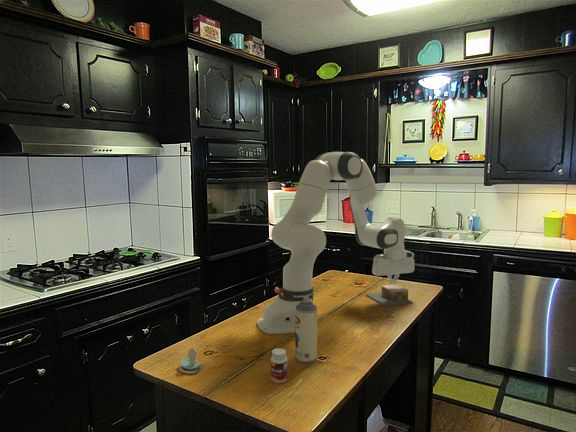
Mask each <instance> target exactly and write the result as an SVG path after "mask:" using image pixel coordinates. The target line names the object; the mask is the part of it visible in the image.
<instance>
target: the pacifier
mask: <svg viewBox="0 0 576 432" xmlns="http://www.w3.org/2000/svg"><path fill="white" fill-rule="evenodd" d="M197 355H198V352H197V350H196V349H195V347H194V348H193V347H191V348H190V349H189V350H188V353H187V357H182V359H181V360H180V365H181V366H179V367H178V370H179V372H181V373H183V374H185V375H193V374H197V373H198V371H199V369H198V368H199V367H201V366H202V365H204V362H201V361H200V362H196V357H197ZM184 369H186V370H184Z"/></svg>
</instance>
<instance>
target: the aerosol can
mask: <svg viewBox="0 0 576 432" xmlns="http://www.w3.org/2000/svg"><path fill="white" fill-rule="evenodd" d="M303 299H304V300H302V301H301V302H300V303H299V304H298V305H296V309H295V333H294V340H295V341H294V346H295V347H294V359H295V361H296V362H298V363H301V364H305V365H307V364H313V363H314V362H315V363H316V361H317V359H318V354H317V353H318V351H317V350H318V306H317V305H316V304H315V303H313V301H312V302H311V301H310V300H309V297H307V296H305V297H304V298H303Z"/></svg>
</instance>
